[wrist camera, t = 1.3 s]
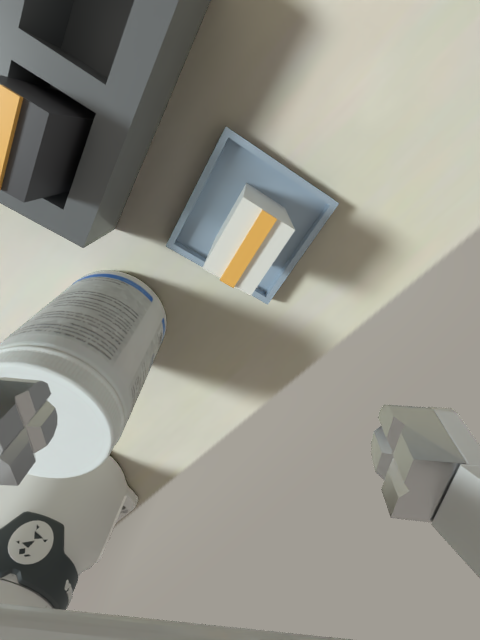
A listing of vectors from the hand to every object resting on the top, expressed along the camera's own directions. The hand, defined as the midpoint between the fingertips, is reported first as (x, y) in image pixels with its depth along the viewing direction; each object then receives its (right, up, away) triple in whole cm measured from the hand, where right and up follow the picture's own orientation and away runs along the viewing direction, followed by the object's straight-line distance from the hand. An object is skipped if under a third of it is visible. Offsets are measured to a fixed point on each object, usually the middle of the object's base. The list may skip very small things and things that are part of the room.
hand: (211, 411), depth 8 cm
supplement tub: (-11, +3, +25) cm, 27 cm away
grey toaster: (-9, +19, +16) cm, 27 cm away
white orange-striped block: (+1, +10, +20) cm, 22 cm away
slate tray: (+2, +10, +20) cm, 23 cm away
